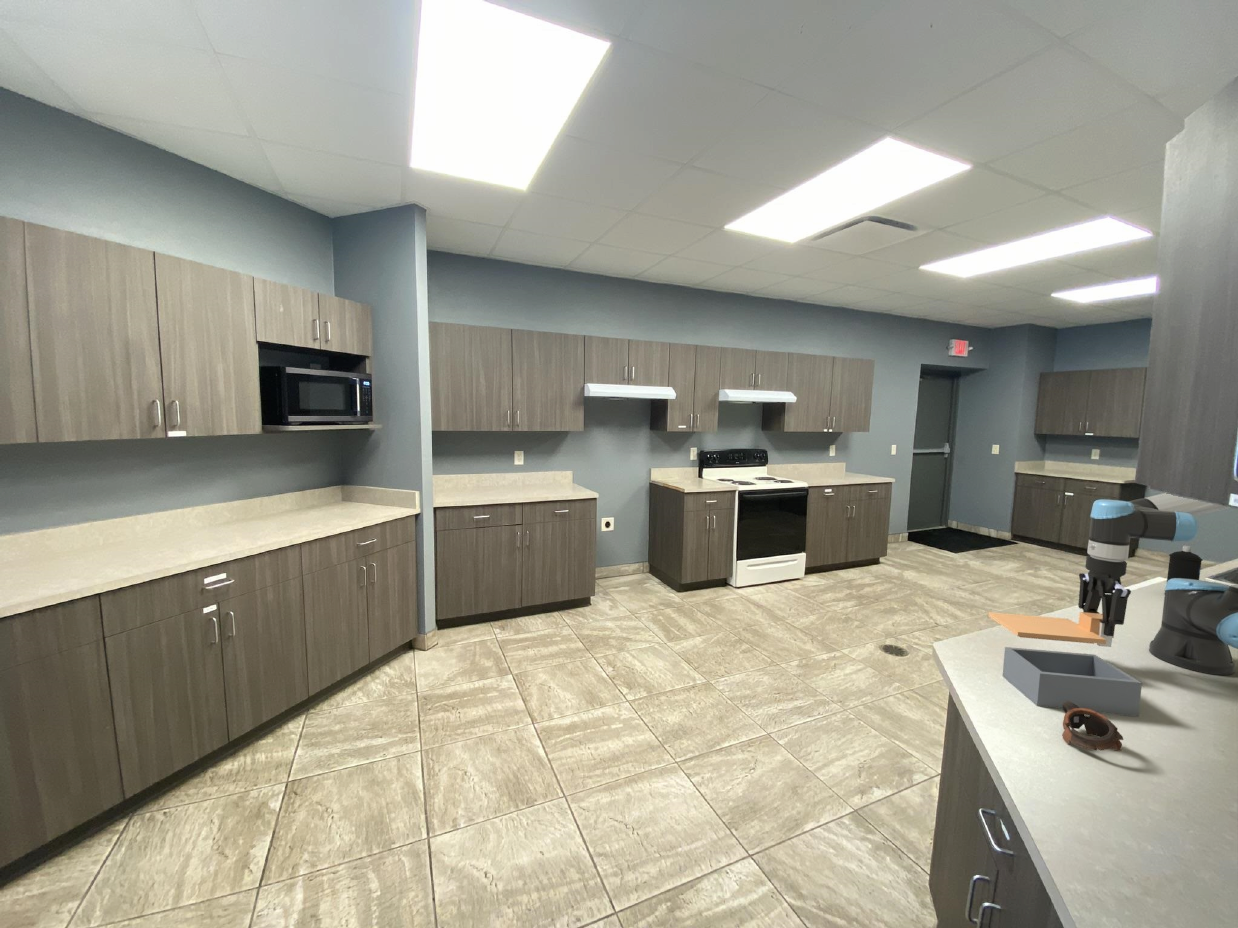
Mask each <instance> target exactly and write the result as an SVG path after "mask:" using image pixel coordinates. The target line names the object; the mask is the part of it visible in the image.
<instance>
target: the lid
mask: <svg viewBox="0 0 1238 928" xmlns="http://www.w3.org/2000/svg"><path fill="white" fill-rule="evenodd" d="M1078 616H1079V617H1078V623H1077V622H1075V621H1073V620H1072V619H1069V618H1065V617H1064V618H1063V617H1062V618H1061V617H1052V616H1051V617H1050V616H1038V615H1027V614H1025V615H1024V614H1013V613H1002V612H991V611H990V612H988V617H989V618H990V619H992V620H994V621H995V622H997V623H998V624H999V625H1001V626H1002V627H1003V628H1005V629H1006V630H1008V631H1009V632H1011V633H1012V634H1014V635H1015V636H1017V637H1020V638H1024V639H1036V640H1045V641H1046V640H1048V641H1049V640H1050V641H1057V642H1058V641H1059V642H1072V643H1079V644H1080V643H1082V644H1093V645H1094V644H1097V643H1099V644H1106V639H1104V638H1102V637H1100V636H1099V635H1098V632H1099V623H1100V620H1102V621H1103V616H1102V613H1100V614H1098V613H1085V612H1083V611H1080V612H1079V615H1078ZM1115 629H1116V627H1115V628H1114V632H1115ZM1114 635H1115V634H1114ZM1114 635H1113V636H1112V639H1114V637H1115V636H1114Z"/></svg>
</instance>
